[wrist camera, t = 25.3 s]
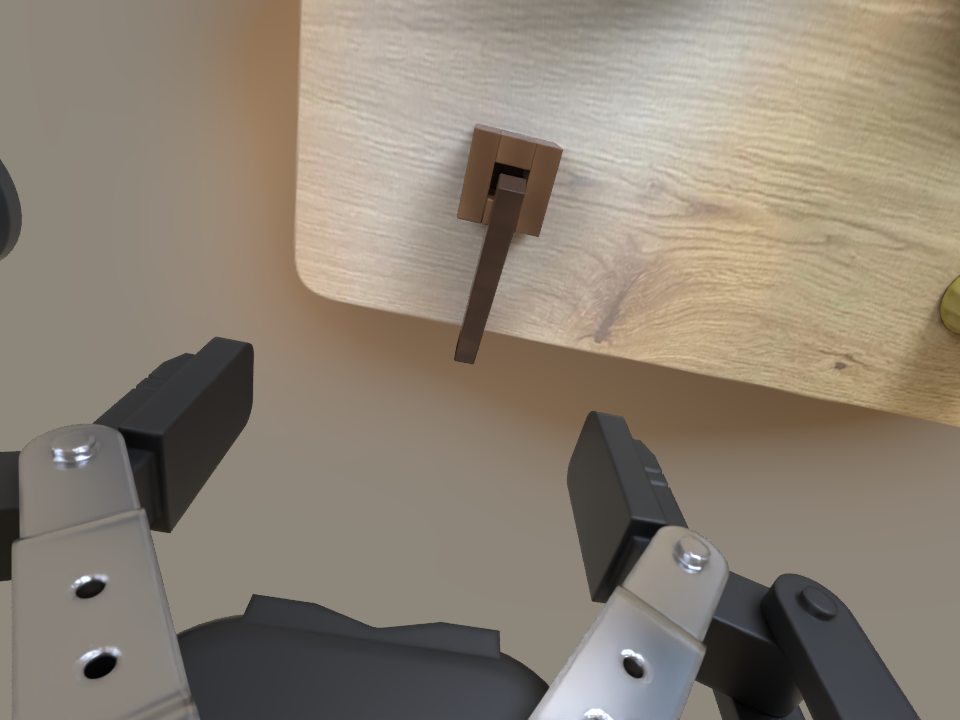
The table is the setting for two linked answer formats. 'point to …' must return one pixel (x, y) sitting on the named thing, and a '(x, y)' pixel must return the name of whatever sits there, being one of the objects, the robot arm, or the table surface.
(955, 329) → the vase
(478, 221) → the stick stand
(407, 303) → the table surface
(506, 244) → the stirring stick
